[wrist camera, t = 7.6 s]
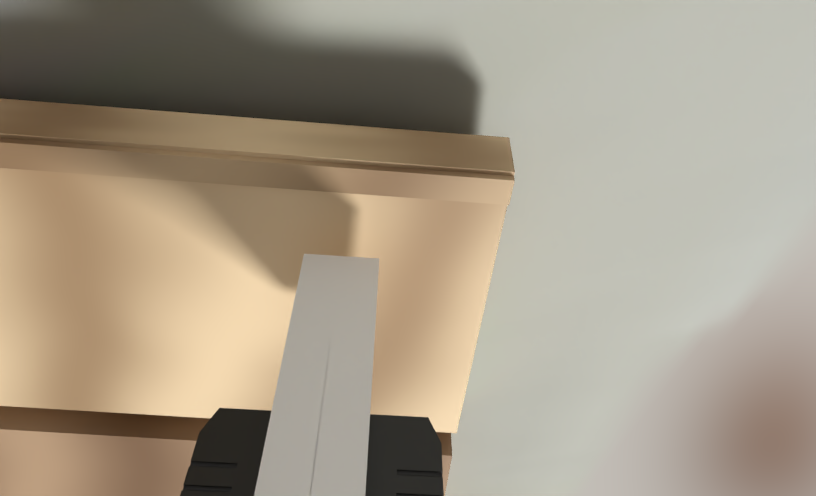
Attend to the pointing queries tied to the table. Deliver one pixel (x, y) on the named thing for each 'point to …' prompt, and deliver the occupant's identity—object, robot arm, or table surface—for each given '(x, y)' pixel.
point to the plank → (232, 254)
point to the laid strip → (104, 452)
